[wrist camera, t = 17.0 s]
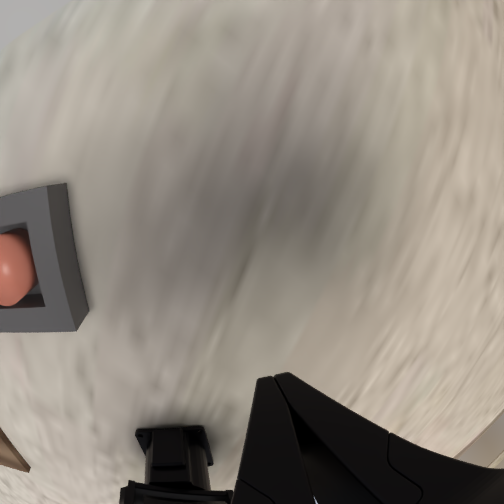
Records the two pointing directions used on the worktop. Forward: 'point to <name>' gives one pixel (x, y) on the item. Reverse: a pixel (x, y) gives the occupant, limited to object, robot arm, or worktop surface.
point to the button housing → (45, 262)
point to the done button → (16, 266)
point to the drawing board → (11, 455)
